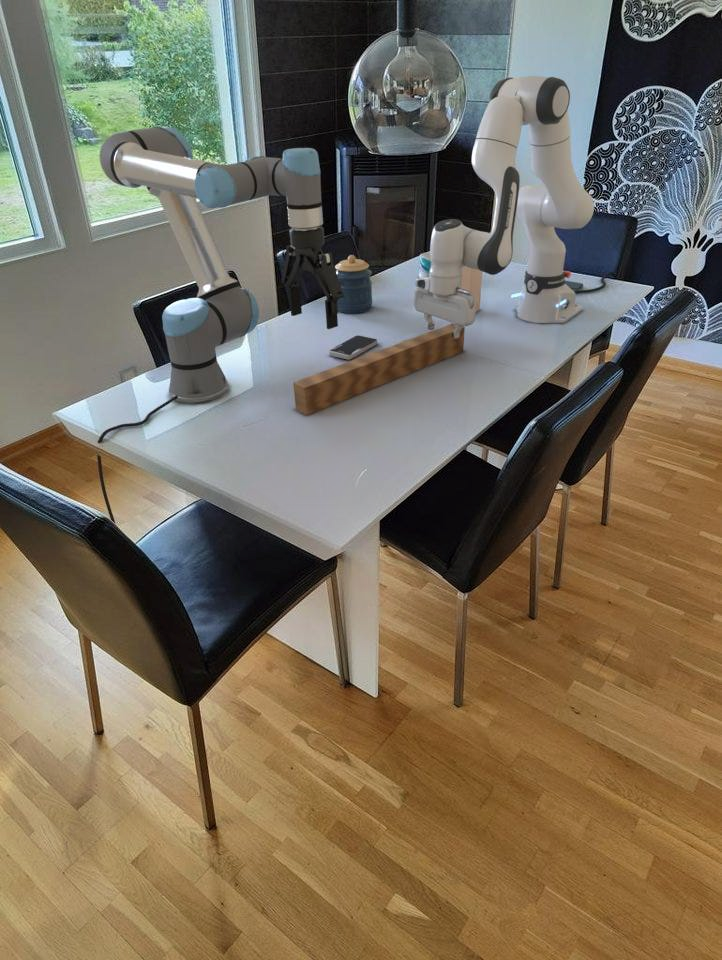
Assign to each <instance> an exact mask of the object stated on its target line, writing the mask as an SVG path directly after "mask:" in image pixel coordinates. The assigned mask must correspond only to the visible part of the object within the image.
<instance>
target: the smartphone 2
mask: <svg viewBox="0 0 722 960" xmlns="http://www.w3.org/2000/svg"><path fill="white" fill-rule="evenodd" d="M565 284H566V285H567V286H568V287H570V288H571V289H572V290H573V291H579V290H582V288H584V283H583V282H576V281H572V280H571V281H570V280H565Z"/></svg>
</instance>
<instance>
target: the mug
mask: <svg viewBox="0 0 722 960" xmlns="http://www.w3.org/2000/svg"><path fill="white" fill-rule="evenodd" d="M418 266H419V267H418V268H419V270H418V271H419V272H418V274H419V276H418V279H419V278H422V277H425V276H429V271H430V268H431V260H430V251H429V252H428V251H427V252H423V253H420V255H419V265H418Z"/></svg>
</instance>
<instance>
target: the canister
mask: <svg viewBox="0 0 722 960" xmlns="http://www.w3.org/2000/svg"><path fill="white" fill-rule="evenodd" d="M334 267H335V270H336V273H337V276H338V279H339V282H340V285H341V288H342V290H343V293H344V297H343V298H340V299H338V312H340V313H345V314H359V313H364V312H367V311H369V310H371V309H372V308H373V291H372V290H373V288H372V286H373V282H372V280H371V276H372V274H373V272H372V270H371V269H369V267H370V264H369V263H368V262H366V261H365V260H363V259H359V258H357V257H356V256H355V255H354V254H350V255H349V256H348V257H347V259H343V260H341V261H339V263H337V264H336V265H334ZM337 293H338V292H337Z"/></svg>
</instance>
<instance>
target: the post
mask: <svg viewBox="0 0 722 960" xmlns="http://www.w3.org/2000/svg"><path fill="white" fill-rule="evenodd" d="M465 327H466V326H463V328H462V329H461V331H460V336H459V338H453V337H451V335H452V331H455V329H456V327H455V323H453V322H451V323H450V324H447V325H444V326H441V327H439V328H436V329H433V330H430V331H428V332H426V333H423V334H420V335H417V336H415V337H412V338H409V339H406V340H403V341H401V342H398V343H396V344H393V345H390V346H388V347H385V348H382V349H380V350H376V351H374V352H371V353H369V354H366V355H363V356H360V357H358V358H355V359H353V360H352V359H351V360H349V361H347V362H345V363H341V364H340V365H337V366H334V367H331V368H329V369H328V368H327V369H326V370H323V371H320V372H317V373H314V374H312V375H310V376H306V377H304V378H302V379H299V380H296V381H293V383H292V385H293V394H294V395H293V396H294V405H295V410H296V411H298V412H300V413H302V414H304V415H306V416H308V415H311V414H313V413H316V412H319V411H321V410H323V409H326V408H328V407H331V406H333V405H336V404H338V403H340V402H343V401H345V400H348V399H351V398H353V397H355V396H358V395H360V394H363V393H364V392H367V391H370V390H372V389H375V388H378V387H379V386H382V385H384V384H387V383H390V382H392V381H394V380H397V379H399V378H402V377H404V376H406V375H409V374H411V373H413V372H416V371H419V370H422V369H424V368H426V367H428V366H430V365H434V364H436V363H438V362H441V361H444V360H445V359H448V358H451V357H453V356H456V355H458V354H461V353H463V352H464V348H465V347H464V344H465Z"/></svg>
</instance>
